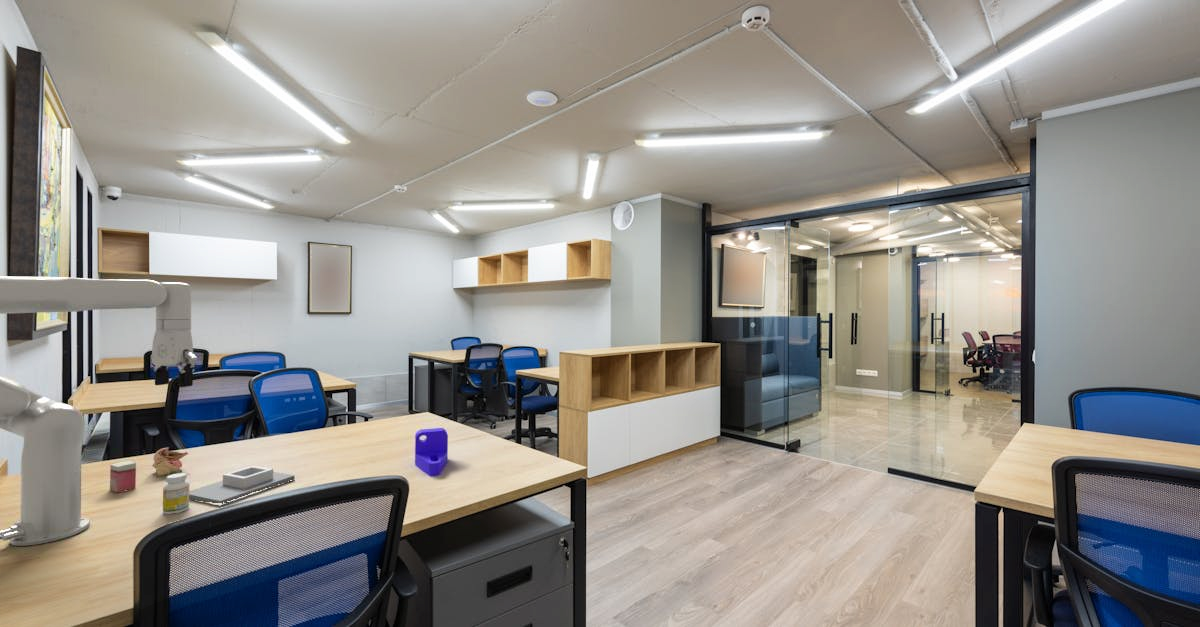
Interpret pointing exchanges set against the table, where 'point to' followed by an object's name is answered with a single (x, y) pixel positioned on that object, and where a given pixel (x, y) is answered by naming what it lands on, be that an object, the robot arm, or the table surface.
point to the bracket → (431, 450)
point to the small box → (122, 476)
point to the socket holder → (239, 484)
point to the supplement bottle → (176, 494)
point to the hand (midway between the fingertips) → (173, 385)
